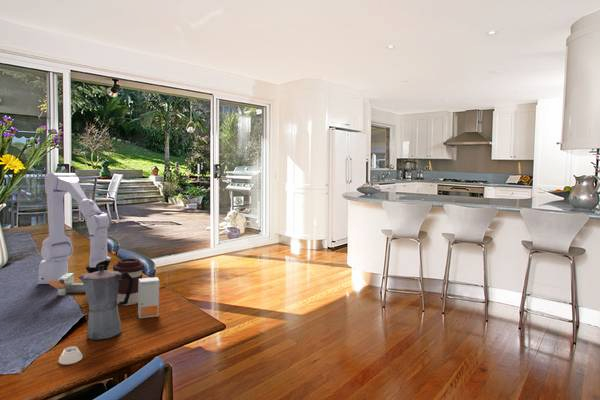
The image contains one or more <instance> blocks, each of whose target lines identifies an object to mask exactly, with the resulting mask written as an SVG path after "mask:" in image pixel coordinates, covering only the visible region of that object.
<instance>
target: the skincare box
mask: <svg viewBox="0 0 600 400" xmlns="http://www.w3.org/2000/svg"><path fill="white" fill-rule="evenodd" d="M159 304H160V278H159V277H158V276H155V277H144V278H143V277H142V279H139V284H138V303H137V316H138V319H146V318H154V317H156V318H157V317H159V309H160V305H159Z"/></svg>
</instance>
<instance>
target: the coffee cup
mask: <svg viewBox="0 0 600 400" xmlns="http://www.w3.org/2000/svg"><path fill="white" fill-rule="evenodd" d="M144 269H145V263H143V262H141V261H140V259H138V258H130V257H129V258H123V259H119V260H118V261H117V263H114V264H113V265H112V271H117V272H119V273H124V272H128V274H129V275H130V276H131V277H132V278H133V280H134V284H133V287H132V290H131V293H130V296H129V299H128V303H127V304H125V305H124V306H133V305H136V304H138V284H139V279H142V278H143V271H144ZM128 284H129V280H128V279H123V280H119V284H118V297H117V305H119V302H123V301H124V299H125V297H126V291H127V288H128Z"/></svg>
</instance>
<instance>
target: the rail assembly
mask: <svg viewBox="0 0 600 400" xmlns="http://www.w3.org/2000/svg"><path fill="white" fill-rule="evenodd" d="M74 278H75V274H74V272H70V273H69V272H68V273H66V274H65V275H63V276H62V277H60V278H59V279H58V281H59V282H60V283H62V284H64V285H66V288H65V289H57V295H58V294H66V293H68V292H69V293H68V294H71V293H72V294H74V293H75V294H76V293H77V294H80V293H81V294H82V293H85V294H86V292H85V287H84V285H83V283H82V282H75V279H74ZM66 295H67V294H66Z"/></svg>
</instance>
